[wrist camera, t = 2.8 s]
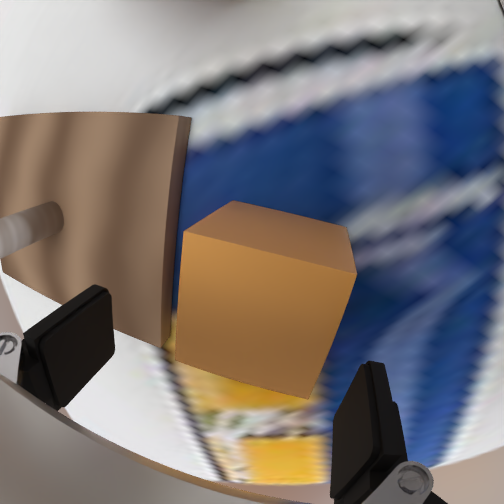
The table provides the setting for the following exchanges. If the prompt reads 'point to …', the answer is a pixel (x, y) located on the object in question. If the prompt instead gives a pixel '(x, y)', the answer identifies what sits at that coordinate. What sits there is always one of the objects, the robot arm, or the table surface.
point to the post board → (95, 209)
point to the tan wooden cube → (262, 296)
